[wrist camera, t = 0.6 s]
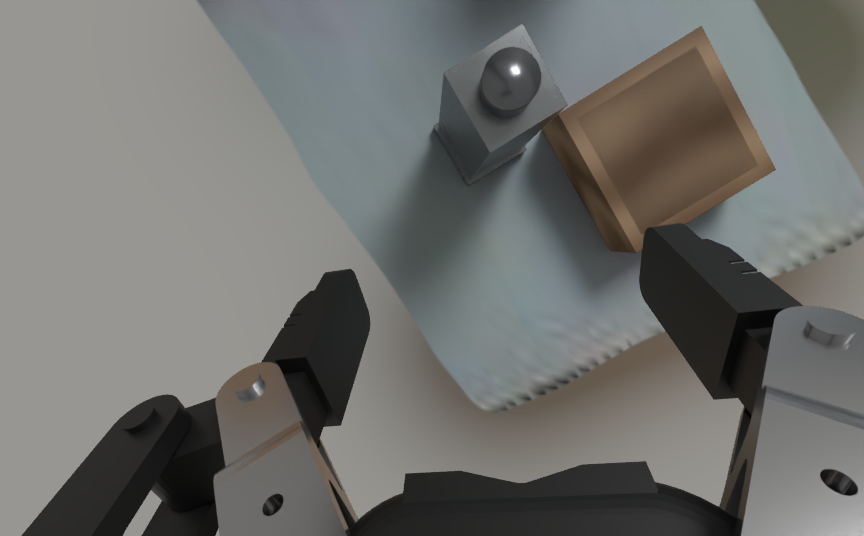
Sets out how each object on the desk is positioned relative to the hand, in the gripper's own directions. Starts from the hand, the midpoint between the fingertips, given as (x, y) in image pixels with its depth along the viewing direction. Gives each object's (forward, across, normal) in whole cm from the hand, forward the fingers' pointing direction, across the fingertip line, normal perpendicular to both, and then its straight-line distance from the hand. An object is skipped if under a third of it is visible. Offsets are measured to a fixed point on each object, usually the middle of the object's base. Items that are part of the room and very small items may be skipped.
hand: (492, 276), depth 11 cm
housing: (+24, 0, +2) cm, 24 cm away
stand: (+24, -14, +6) cm, 28 cm away
